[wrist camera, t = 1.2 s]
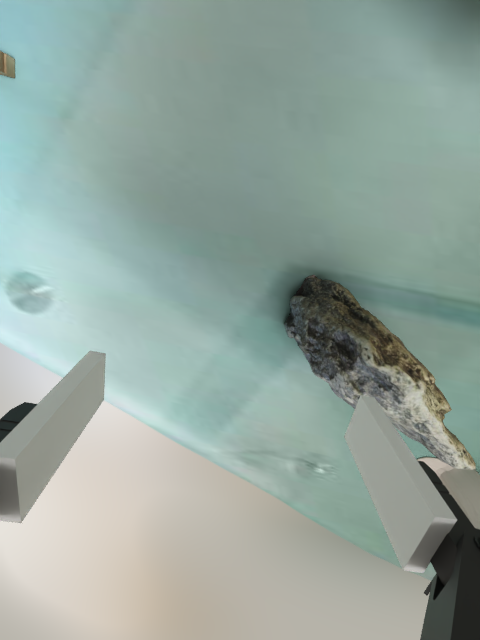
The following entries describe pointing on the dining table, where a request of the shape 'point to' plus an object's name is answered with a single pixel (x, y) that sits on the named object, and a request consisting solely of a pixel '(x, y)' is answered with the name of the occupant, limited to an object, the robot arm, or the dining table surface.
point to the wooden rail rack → (7, 65)
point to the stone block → (371, 366)
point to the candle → (459, 487)
